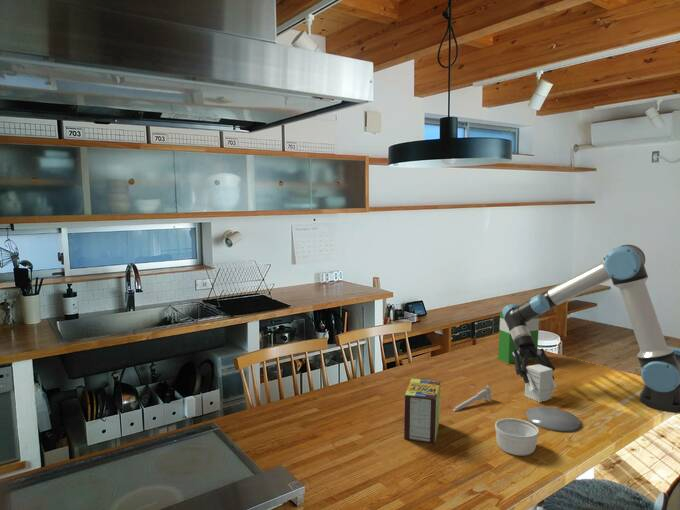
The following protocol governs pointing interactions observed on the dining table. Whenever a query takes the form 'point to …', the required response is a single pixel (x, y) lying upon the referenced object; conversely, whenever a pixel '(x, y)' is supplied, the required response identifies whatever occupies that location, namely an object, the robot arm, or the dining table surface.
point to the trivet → (553, 419)
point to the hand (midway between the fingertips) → (543, 389)
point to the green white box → (507, 342)
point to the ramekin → (516, 436)
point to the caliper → (475, 398)
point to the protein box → (422, 410)
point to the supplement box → (539, 382)
